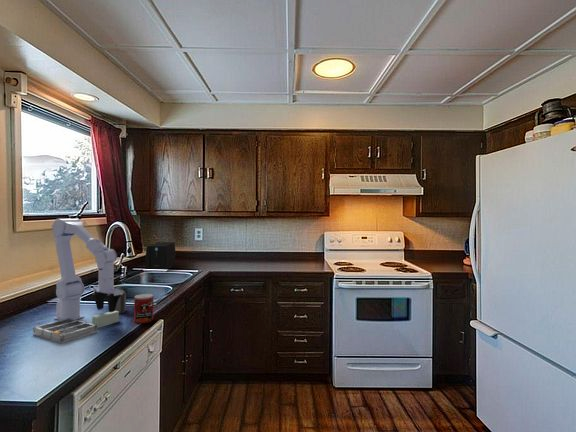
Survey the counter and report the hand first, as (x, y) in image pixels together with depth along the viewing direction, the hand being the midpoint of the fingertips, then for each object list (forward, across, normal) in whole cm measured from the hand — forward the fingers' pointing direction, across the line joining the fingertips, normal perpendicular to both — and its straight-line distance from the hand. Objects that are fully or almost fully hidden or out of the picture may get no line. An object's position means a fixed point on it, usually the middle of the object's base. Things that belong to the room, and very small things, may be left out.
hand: (106, 310), depth 151 cm
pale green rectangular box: (+6, 0, 0) cm, 6 cm away
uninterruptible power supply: (+6, -89, +112) cm, 143 cm away
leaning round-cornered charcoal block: (+6, -14, +15) cm, 21 cm away
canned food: (+6, +10, +11) cm, 16 cm away
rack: (+6, -3, -15) cm, 16 cm away
